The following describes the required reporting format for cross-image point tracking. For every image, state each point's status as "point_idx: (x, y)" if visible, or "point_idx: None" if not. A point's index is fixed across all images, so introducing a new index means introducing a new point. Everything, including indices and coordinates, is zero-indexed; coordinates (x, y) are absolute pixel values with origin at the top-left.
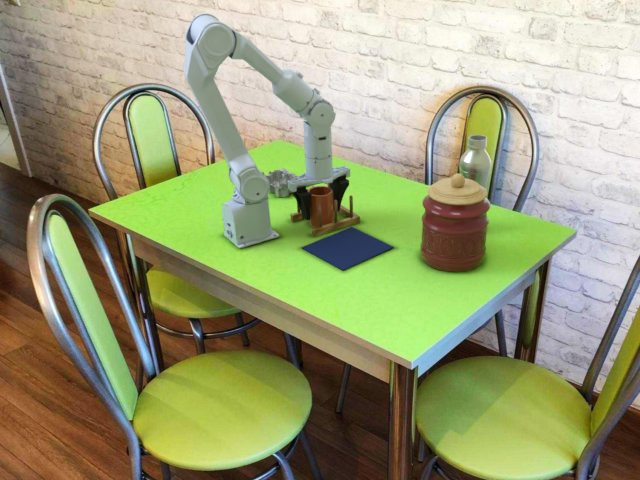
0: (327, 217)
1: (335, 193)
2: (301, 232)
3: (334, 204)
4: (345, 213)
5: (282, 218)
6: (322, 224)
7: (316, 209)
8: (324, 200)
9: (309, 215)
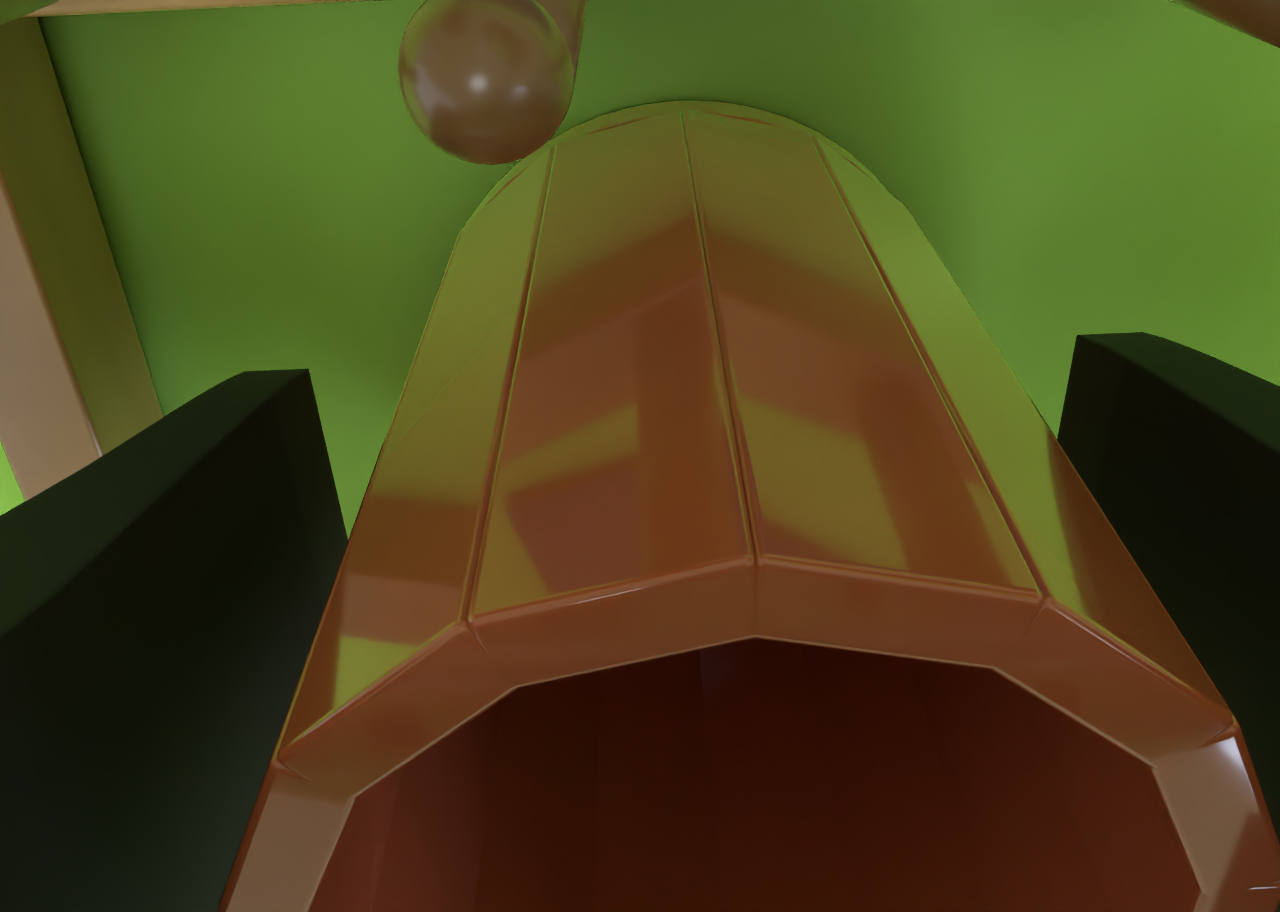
0: (703, 165)
1: (144, 764)
2: (1260, 189)
3: (572, 16)
4: (106, 356)
5: None
6: (817, 145)
7: (1023, 389)
8: (859, 438)
9: (1157, 366)
